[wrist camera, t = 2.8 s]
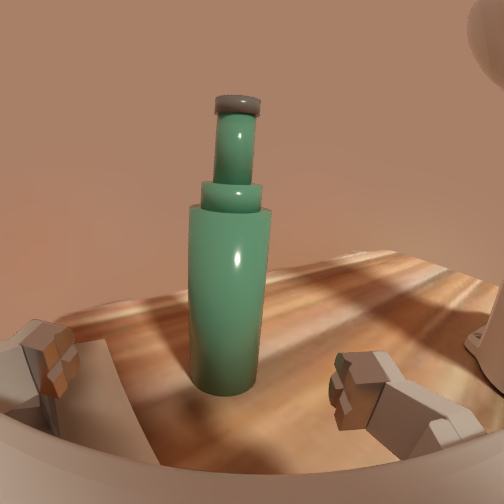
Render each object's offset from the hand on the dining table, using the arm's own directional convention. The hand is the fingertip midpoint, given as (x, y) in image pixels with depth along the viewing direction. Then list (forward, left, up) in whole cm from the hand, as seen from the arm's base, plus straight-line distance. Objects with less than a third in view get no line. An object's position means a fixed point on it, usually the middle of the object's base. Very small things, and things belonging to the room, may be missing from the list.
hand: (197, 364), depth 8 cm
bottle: (-7, -10, -10) cm, 16 cm away
